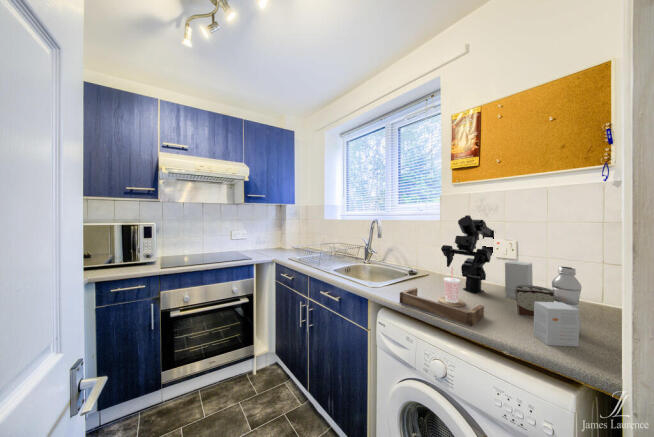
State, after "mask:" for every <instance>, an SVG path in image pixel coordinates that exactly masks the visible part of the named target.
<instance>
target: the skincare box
mask: <svg viewBox="0 0 654 437" xmlns="http://www.w3.org/2000/svg"><path fill="white" fill-rule="evenodd" d="M533 281H534V280H533V263H531V262H525V261H523V262H522V261H516V260H508V261H506V262H504V282H505V283H504V284H505V285H504V286H505V290H504V291H505V292H504V293H505V296H504V297H505V298H509V299H514V300H516V293H514V292H513V291H514V287H515V286H516V285H533V286H534V283H533Z"/></svg>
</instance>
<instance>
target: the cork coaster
mask: <svg viewBox="0 0 654 437" xmlns="http://www.w3.org/2000/svg"><path fill="white" fill-rule="evenodd" d="M437 302H438V303H442V304H445V305H448V306H452V307H455V308H463V307H465V306H466V302H465V301H464V300H462V299H460V298H458V302H457V303H450V302H447V301H446V300H445V296H440V297H438V298H437Z"/></svg>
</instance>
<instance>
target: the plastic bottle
mask: <svg viewBox="0 0 654 437" xmlns="http://www.w3.org/2000/svg"><path fill="white" fill-rule="evenodd" d="M557 273H558V275H557V276H555V277H554V278H553V279H552V282H551V287H552V288H551V289H552V290H553V294H554V302H562V303H565V304H567V305H569V306H572V307H574V308H576V309H578V310H579V311H580V309H579V303H580V297H581V292H582V289H583V288H582V284H581V283H580V281H579V280H578V279H577V277H575V276H576V275H577V272H576V268H575V267H572V266H571V267H570V266H558V271H557ZM581 330H582V322H581V320H580V318H579V333H581Z"/></svg>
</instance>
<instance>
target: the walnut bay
mask: <svg viewBox="0 0 654 437" xmlns="http://www.w3.org/2000/svg"><path fill="white" fill-rule="evenodd" d="M399 303H401V304H405V305H407V306H411V307H413V308H416V309H420V310H421V311H425V312H428V313H431V314H435V315H437V316H440V317H441V318H446V319H448V320H452V321H455V322H457V321H458V323H460V324H463V325H467V326H469V327H472V326H474V325H475V324H476V323H478V322H479V321H481V320H482V319H483V318H484V317H485V316H484V314H485V313H484V312H485V305H482V304H478V305H476V306H475V307H473V308H471V309H470V310H465V309H462V308H460V307H452V306H448V305H445V304H442V303H440V302H439V301H434V300H432V299H431V300H430V299H427V298H424V297H421V296H418V288H417V287H415V286H414V287H411V288H408V289H406V290H403V291H400V292H399Z"/></svg>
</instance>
